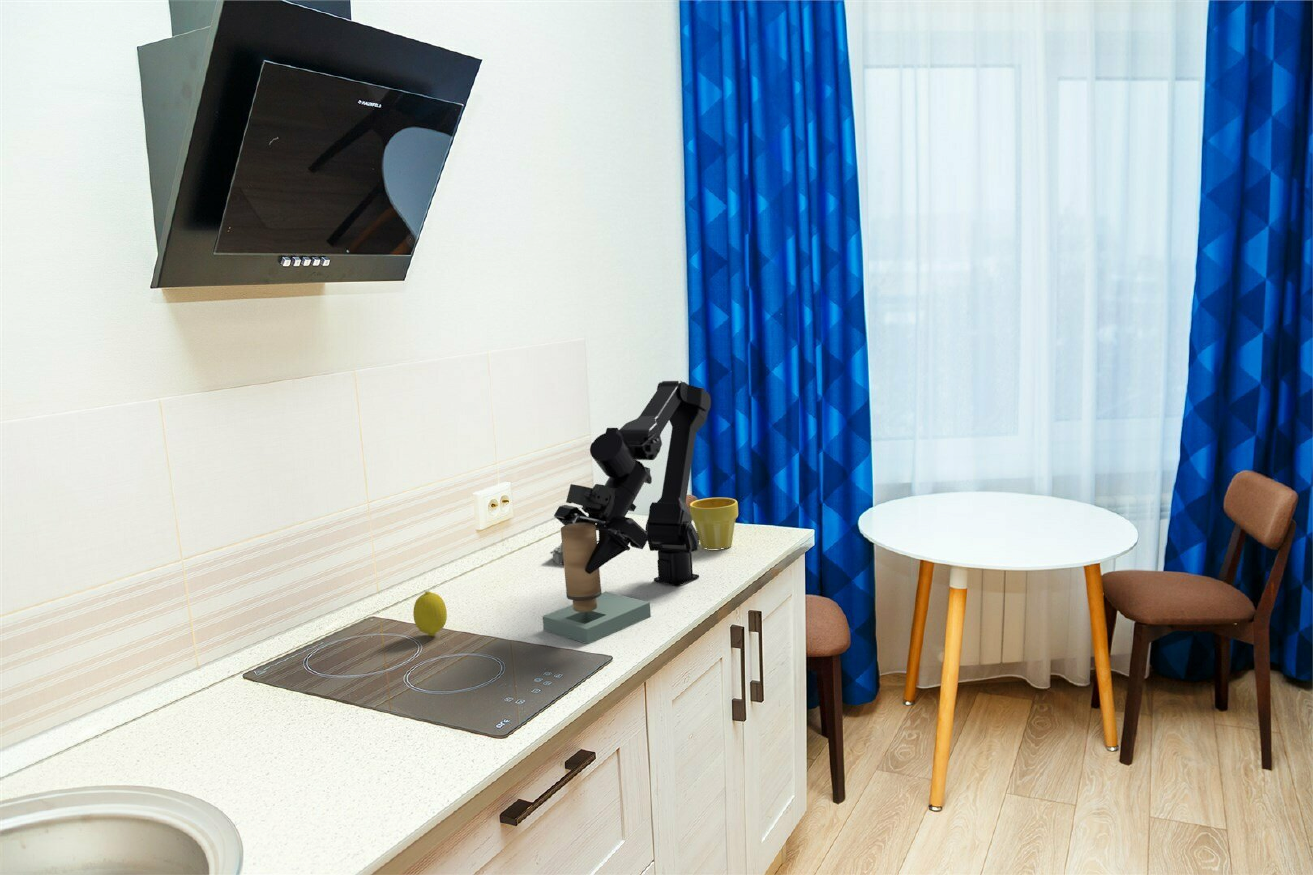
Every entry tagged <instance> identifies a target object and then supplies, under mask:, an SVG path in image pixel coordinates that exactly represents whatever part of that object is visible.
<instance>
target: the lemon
mask: <svg viewBox="0 0 1313 875" xmlns="http://www.w3.org/2000/svg"><path fill="white" fill-rule="evenodd" d="M412 612H413V614H412V615H413V620H414V624H415V626H416V627H417V629H418V630H419V631H420V632H422V634H427V635H429V636H430V637H434V636H436V634H437V633H438V632H440V631H441V630H442V629H443V628H444V626H445V625H446V623H447V620H448V619H447V618H448V614H447V606H446V603H445V601H444V599H443V598H442V597H441V596H440V595H439V594H437V593H435V592H431V591H429V590H428V591H425V592H424V593H423V594H421V595H420V596H419V597H418V598H417V599H416V600H415V603H414V605H413V611H412Z"/></svg>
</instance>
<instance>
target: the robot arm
mask: <svg viewBox="0 0 1313 875" xmlns="http://www.w3.org/2000/svg"><path fill="white" fill-rule="evenodd" d="M711 404H712V399H711V395H710V393H709V392H707V391H706V390H705V388H703V387H698V386H696V385H695V386H694V385H691V384H688V383H687V382H685V381H682V380H662V381H661V382H659V383H658V384H657V386H656V392H655V393H654V394H653V395H652V397H651V399H650V400H649V401H648V403H647V404H646V406H645V407H644V409H643V410H642V412H641V413H640V415H639V416H638V417H637V418H636V419H633V420H630V421H629V422H626V423H624V425H623V426H622V427H621V428H619V427H607V428H606V430H605V433H604V432H603V433H602V434H600V435H599V436H597V437H596V438H595V439H594V440H593V442H591V444H590V448H589V452H590V455H591V457H592V459H593V460H594V461H595V463H596V464H597V465H598V467H599V468H600V469H601V470H602V472H603V473H604V474H605V476H607V477H608V479H607V481H606V482H605V484H601V483H596V484H594V486H593V487H589V486H584V485H578V484H572V483H571V484H570V485H569V489H568V493H567V496H566V501H565V503H567V504H564V505H559V506H558V508H557V509H556V510H555V512H554V514H553V517H554V518H555V519H556V520H558V522H560V523H561V524H562V525H563V526H565V525H568V524H573V523H593V524H595V525H596V531H598V540H599V541H598V540H597V541H598V542H597V545H596V547H595V549H594V551H593V553H592V555H591V557H590V559H589V561H588V564H587V566H586V569H585V572H587V573H588V574H591V573H592V572H594V571H595V570H597V569H598V568H599V569H600V568H601V567H603V565H605V564H606V563H608V562H610V561H611V560H612V559H614V558H616V557H617V556H619V555H621V554H623V553H624V552H625V551H627V552H628V551H630V550H631V547H632V548H635V549H639V550H643V549H644V547H645V546H646V544H648V547H649V551H651V552H653V551H655V552H657V558H658V559H657V561H656V562H657V573H658V575H657V576H656V577H653V582H657V583H662V584H665V585H670V586H674V587H680V586H683V585H685V584H687V583H689V582H692V581H694V580H696V579H699V578H700V575H699V574H696V573H694V572H693V571H694V570H693V557H692V553H693V552H697V551H699V548H700V547H699V545H700V540H699V535H698V533H697V530H696V527H694V525H693V523H692V522H693V521H692V516H691V514H690V508H689V506H688V505H687V496H688V491H689V490H688V489H689V484H690V483H689V482H690V475H691V468H692V462H693V455H694V451H695V450H694V448H695V443H696V436H697V432H698V431H699V430H700V429H701V428H702V427H703V426H704V424H705V423H706V421H707V418H708V413H709V411H710V409H711V406H712V405H711ZM668 423H670V425H671V433H670V439H669V445H668V446H669V447H668V452H667V459H666V464H665V472H664V479H663V486H662V492H661V496H660V498H658V500H657V501H656V502H655V501H654V502H651V504H650V506H649V510H648V516H647V520H646V524H645V528H643V527H642V526H641V525H640V524H638V522H636V521H635V520H634V518H631V517H627V516H626V515H627V514H628V512H635V510H636V509H637V505H635V504H634V501H635V500H636V498H637V496H638V495H639V493H640V491H641V490H642V487H643V485H644V483H645V484H648V485H651V484H652V481H653V479H652V476H651V468H650V467H648V466H645V465H644V464H643V463H642V462H641V461H654V460H655V459H656V458H657V457H658V454H659V453H660V452H661V448H662V446H663V442H662V438H661V434H662V432H663V431H664V429H665V427H666V426H667V424H668ZM569 504H570V505H569ZM571 504H574V505H577V506H582V507H581V509H579V508H578V507H577V506H573V505H571ZM587 514H588V515H587ZM561 564H562V566H563V567H564V560H562V563H561Z"/></svg>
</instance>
